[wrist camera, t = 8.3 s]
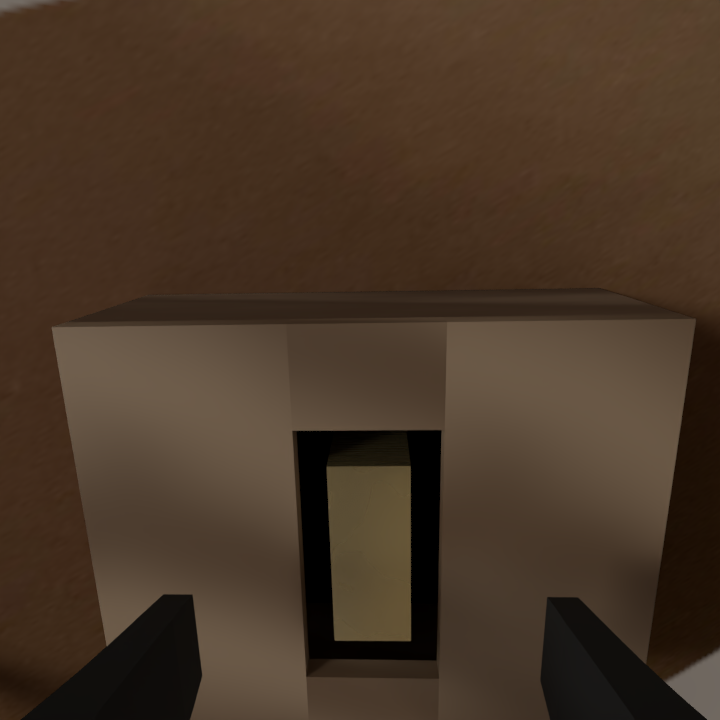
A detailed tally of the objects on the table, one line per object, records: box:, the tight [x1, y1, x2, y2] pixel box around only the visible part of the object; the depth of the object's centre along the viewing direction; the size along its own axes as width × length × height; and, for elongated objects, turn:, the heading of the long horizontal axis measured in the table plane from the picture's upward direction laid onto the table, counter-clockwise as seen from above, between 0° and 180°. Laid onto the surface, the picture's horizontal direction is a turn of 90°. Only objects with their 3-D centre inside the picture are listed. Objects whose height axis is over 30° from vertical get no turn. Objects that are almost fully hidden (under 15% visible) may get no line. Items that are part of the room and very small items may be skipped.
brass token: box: [327, 430, 411, 641], centre depth 16 cm, size 5×2×5 cm, turn 2°
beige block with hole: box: [52, 288, 696, 720], centre depth 16 cm, size 12×14×5 cm
